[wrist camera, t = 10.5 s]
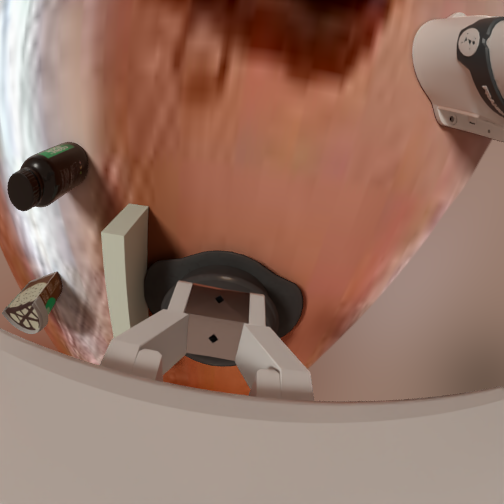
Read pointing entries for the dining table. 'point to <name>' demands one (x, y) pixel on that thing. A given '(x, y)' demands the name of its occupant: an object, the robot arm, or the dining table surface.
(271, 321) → the casserole
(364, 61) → the dining table surface
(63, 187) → the supplement bottle
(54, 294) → the food container
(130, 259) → the board
